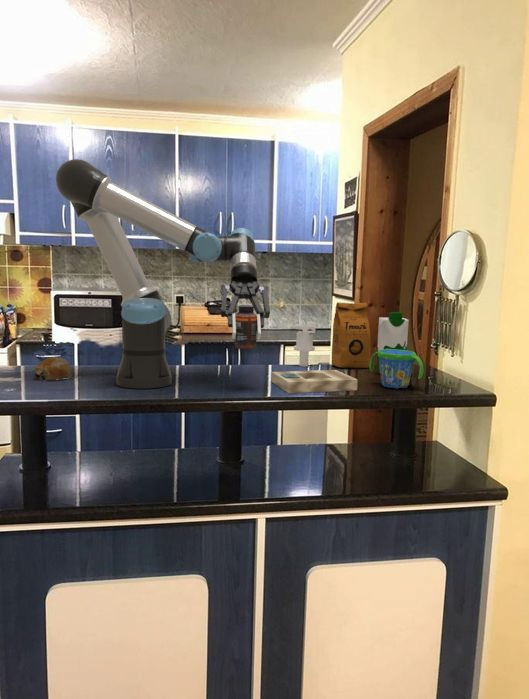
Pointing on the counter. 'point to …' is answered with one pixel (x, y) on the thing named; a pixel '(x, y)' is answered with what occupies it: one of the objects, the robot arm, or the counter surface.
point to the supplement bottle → (246, 327)
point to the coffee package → (351, 336)
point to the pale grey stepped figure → (304, 342)
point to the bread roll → (53, 369)
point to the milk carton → (392, 333)
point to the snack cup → (396, 367)
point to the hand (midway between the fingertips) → (246, 335)
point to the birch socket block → (314, 381)
